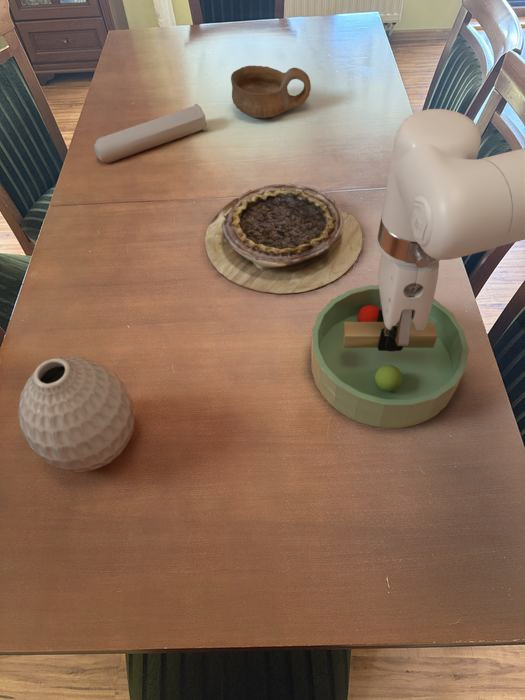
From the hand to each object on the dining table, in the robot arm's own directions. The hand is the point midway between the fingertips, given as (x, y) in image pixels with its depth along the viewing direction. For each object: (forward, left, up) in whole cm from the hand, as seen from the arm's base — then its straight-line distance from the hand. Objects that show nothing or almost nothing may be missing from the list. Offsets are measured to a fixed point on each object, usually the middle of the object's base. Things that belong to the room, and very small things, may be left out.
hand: (388, 338), depth 69 cm
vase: (-13, +39, -6) cm, 42 cm away
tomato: (+7, +1, -3) cm, 8 cm away
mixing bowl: (0, 0, -6) cm, 6 cm away
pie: (+28, +15, -6) cm, 32 cm away
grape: (-4, 0, -3) cm, 5 cm away
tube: (+60, +44, -6) cm, 74 cm away
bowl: (+74, +18, -6) cm, 76 cm away
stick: (0, 0, 0) cm, 0 cm away
